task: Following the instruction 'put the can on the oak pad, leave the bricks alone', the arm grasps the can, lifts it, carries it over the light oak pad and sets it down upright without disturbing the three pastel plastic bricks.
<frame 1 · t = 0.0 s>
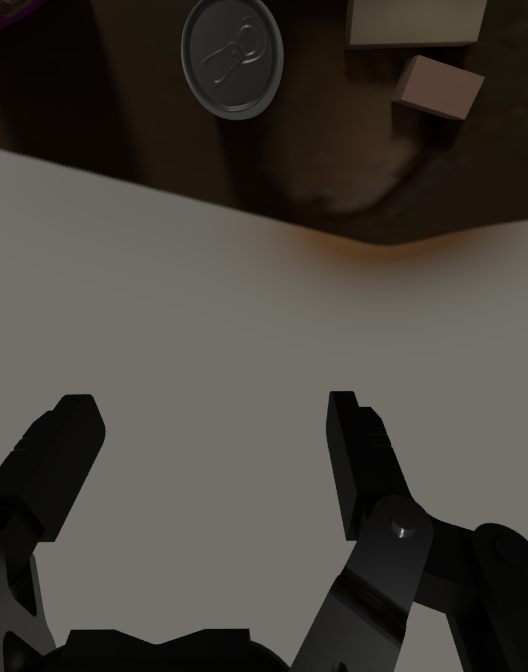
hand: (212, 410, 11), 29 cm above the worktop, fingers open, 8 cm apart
brick terracotta: (427, 90, 30), on the worktop
can: (242, 75, 30), on the worktop
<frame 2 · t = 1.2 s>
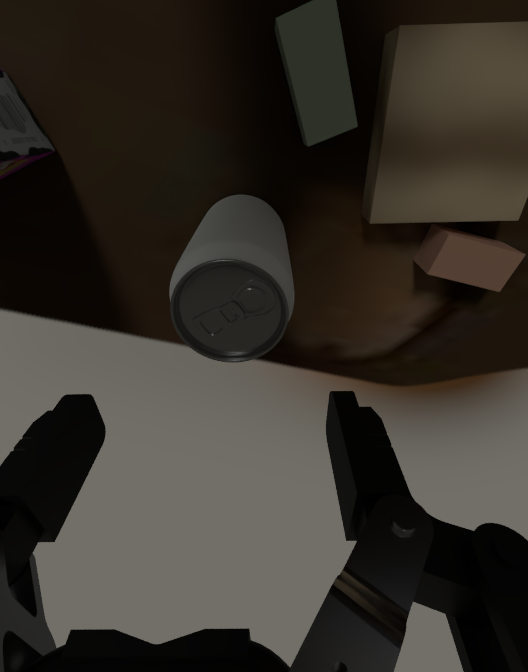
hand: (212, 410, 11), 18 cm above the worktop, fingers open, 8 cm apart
oak pad: (447, 134, 22), on the worktop
brick terracotta: (455, 250, 27), on the worktop
can: (243, 236, 26), on the worktop
brick sage: (313, 80, 21), on the worktop
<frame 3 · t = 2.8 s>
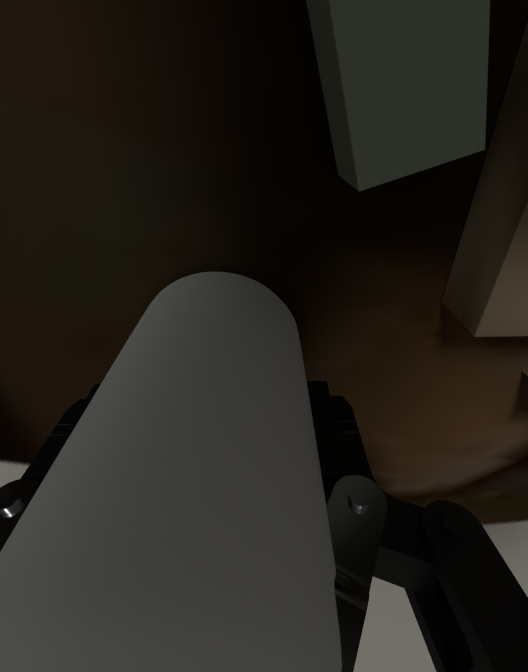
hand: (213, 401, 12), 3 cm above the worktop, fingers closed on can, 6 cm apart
can: (222, 335, 14), on the worktop, touching gripper
brick sage: (370, 40, 9), on the worktop
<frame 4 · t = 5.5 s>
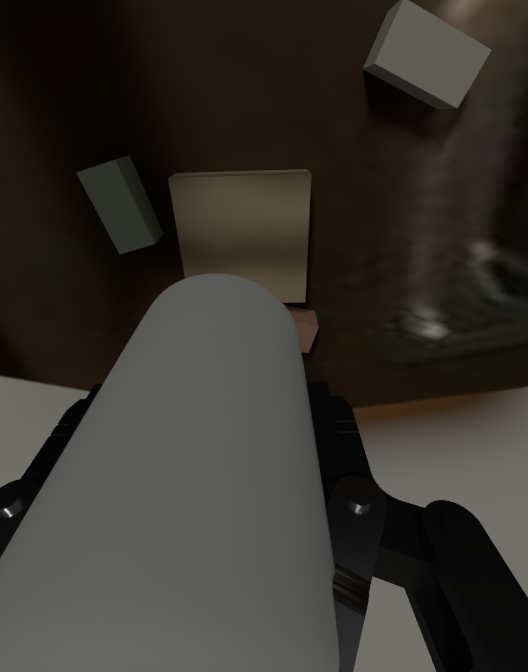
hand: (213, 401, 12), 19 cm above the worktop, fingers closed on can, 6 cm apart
brick cream: (408, 88, 22), point 1 cm above the worktop, tilted 90°
oak pad: (245, 236, 28), on the worktop
brick terracotta: (280, 317, 33), on the worktop
can: (223, 336, 14), point 16 cm above the worktop, touching gripper
brick sage: (131, 201, 27), on the worktop
when the fingers open (7 cm above the worktop, at t = 8.4 s): can stays where it is, resting on oak pad.
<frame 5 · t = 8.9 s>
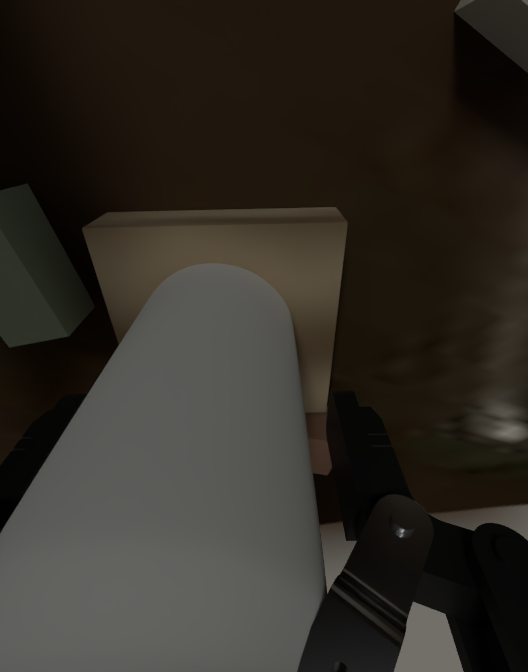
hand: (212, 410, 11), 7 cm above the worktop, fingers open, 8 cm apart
oak pad: (230, 309, 17), on the worktop
brick terracotta: (284, 414, 22), on the worktop
can: (221, 325, 15), point 2 cm above the worktop, touching oak pad
brick sage: (38, 256, 16), on the worktop
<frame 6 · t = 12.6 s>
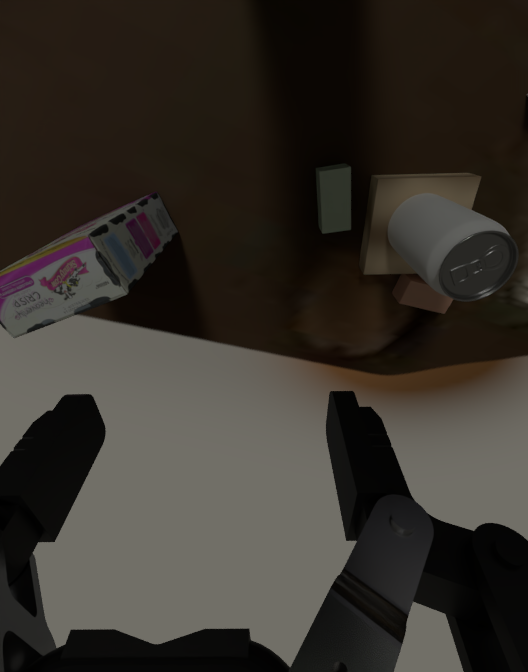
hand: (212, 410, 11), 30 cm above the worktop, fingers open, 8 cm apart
oak pad: (409, 223, 37), on the worktop
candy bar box: (126, 228, 38), on the worktop
brick terracotta: (418, 286, 42), on the worktop
can: (416, 224, 35), point 2 cm above the worktop, touching oak pad
brick sage: (330, 196, 36), on the worktop
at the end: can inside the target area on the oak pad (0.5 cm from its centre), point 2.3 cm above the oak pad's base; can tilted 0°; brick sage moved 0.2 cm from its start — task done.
